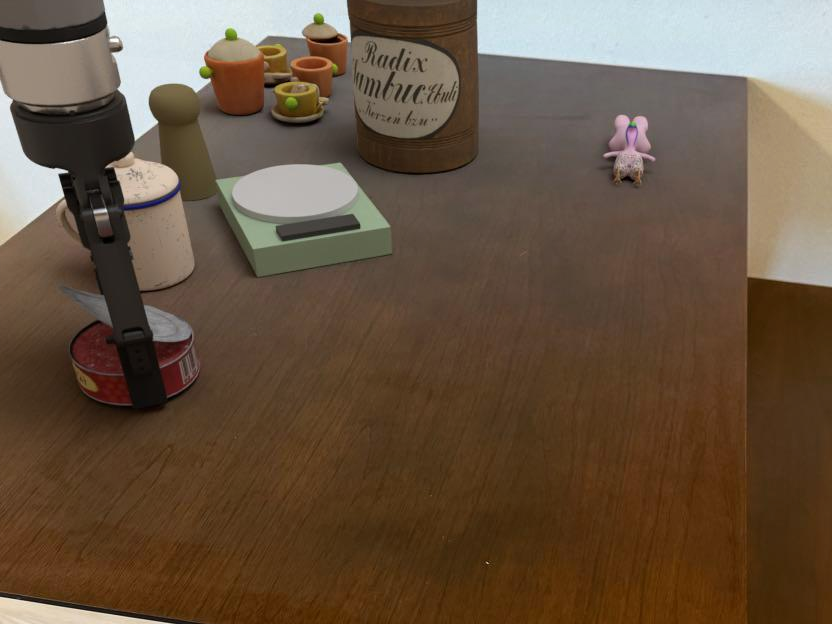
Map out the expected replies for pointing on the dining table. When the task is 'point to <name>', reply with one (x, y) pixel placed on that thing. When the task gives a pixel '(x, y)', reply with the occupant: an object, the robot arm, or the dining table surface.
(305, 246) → the kitchen scale
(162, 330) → the canned food
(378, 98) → the wooden container
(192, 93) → the pepper mill
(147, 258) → the teacup with lid
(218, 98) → the toy tea set
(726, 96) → the dining table surface
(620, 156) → the pink plush toy
